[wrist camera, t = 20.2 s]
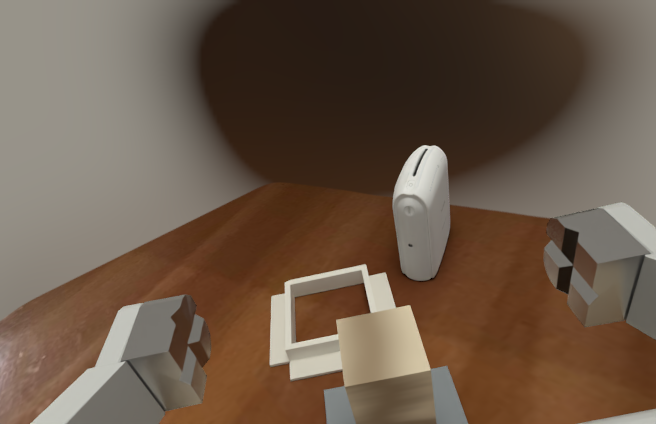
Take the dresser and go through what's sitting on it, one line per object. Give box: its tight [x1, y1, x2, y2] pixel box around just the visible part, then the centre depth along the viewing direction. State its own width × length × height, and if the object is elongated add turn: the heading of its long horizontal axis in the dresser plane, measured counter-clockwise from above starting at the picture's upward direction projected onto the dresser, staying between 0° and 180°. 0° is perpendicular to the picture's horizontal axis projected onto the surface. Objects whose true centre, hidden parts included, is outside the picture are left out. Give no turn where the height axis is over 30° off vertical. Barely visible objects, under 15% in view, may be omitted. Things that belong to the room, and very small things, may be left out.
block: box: [336, 305, 437, 424], centre depth 30 cm, size 5×5×12 cm
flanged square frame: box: [270, 264, 396, 381], centre depth 45 cm, size 13×13×2 cm
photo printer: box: [393, 145, 450, 281], centre depth 48 cm, size 10×4×12 cm, turn 157°
